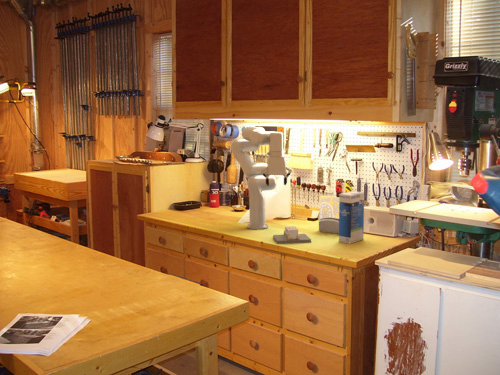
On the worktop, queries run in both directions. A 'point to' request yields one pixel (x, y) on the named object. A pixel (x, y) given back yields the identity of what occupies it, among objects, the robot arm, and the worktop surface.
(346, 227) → the string lights box
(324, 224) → the grey rounded block
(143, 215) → the worktop surface
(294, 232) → the block
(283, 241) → the gray peg board
